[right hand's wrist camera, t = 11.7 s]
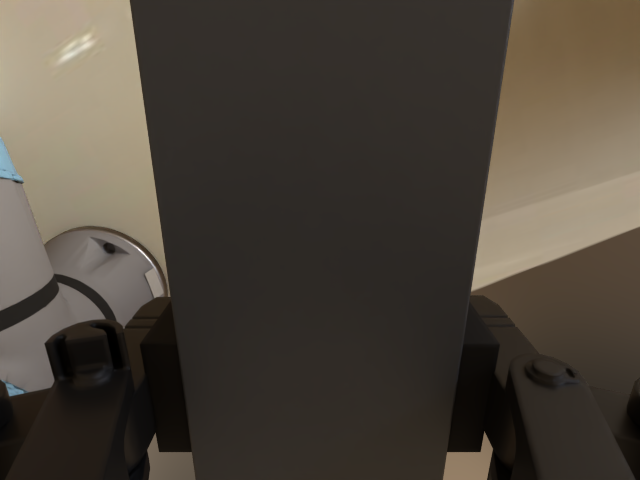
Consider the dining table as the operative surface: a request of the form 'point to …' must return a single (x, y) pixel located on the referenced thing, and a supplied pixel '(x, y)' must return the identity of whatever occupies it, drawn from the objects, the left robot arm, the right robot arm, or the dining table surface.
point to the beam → (320, 222)
